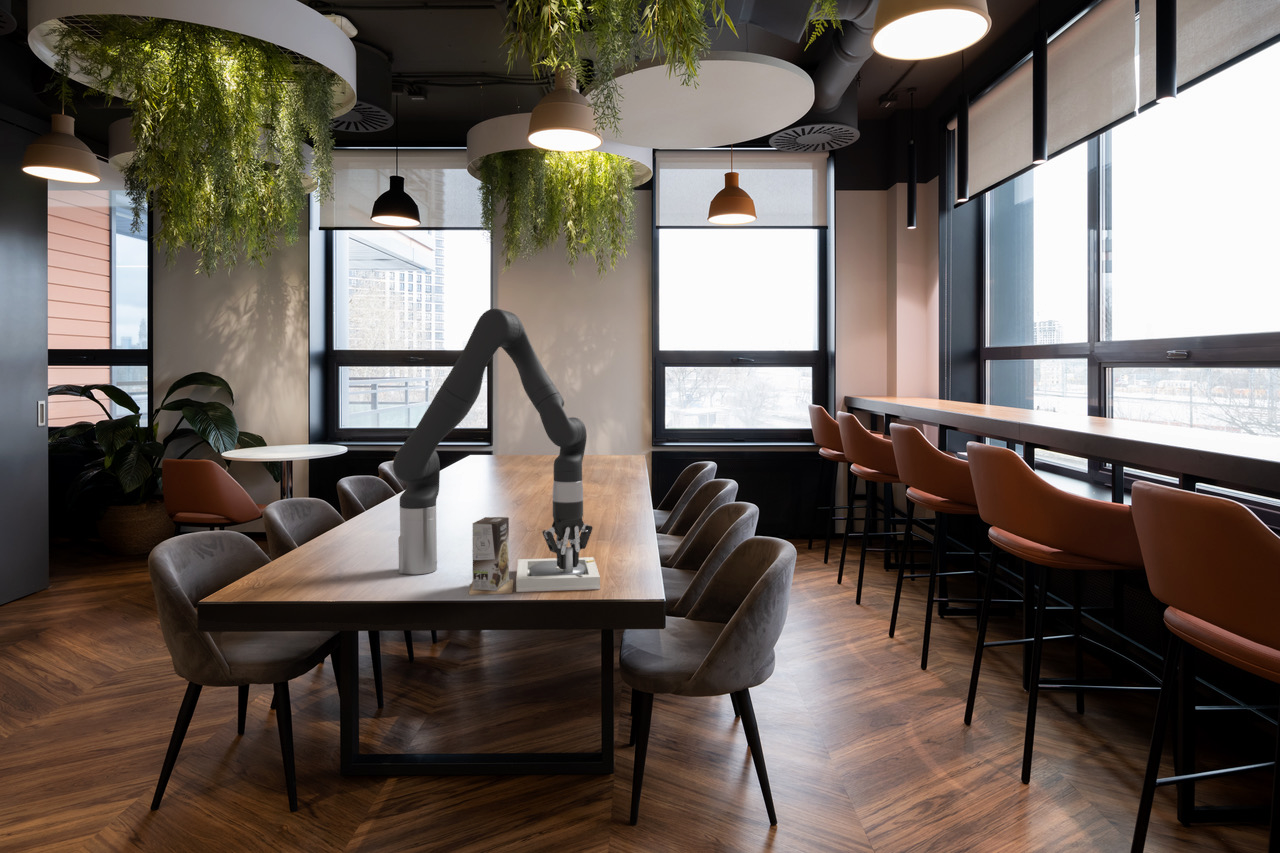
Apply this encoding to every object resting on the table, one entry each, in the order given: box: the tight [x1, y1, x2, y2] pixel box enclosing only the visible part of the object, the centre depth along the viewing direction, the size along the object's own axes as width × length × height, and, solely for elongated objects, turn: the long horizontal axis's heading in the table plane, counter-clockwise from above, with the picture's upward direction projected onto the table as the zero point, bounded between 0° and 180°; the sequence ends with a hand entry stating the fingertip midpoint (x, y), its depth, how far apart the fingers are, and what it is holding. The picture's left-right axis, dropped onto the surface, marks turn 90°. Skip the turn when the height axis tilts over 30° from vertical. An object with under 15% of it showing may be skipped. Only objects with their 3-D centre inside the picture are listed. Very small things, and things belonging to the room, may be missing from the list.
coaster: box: [468, 579, 514, 596], centre depth 179 cm, size 10×10×1 cm
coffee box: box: [472, 516, 510, 591], centre depth 179 cm, size 9×6×16 cm
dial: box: [529, 546, 585, 576], centre depth 187 cm, size 14×14×8 cm
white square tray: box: [515, 556, 601, 593], centre depth 187 cm, size 20×20×3 cm
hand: (567, 567), depth 183 cm, fingers open, 3 cm apart
